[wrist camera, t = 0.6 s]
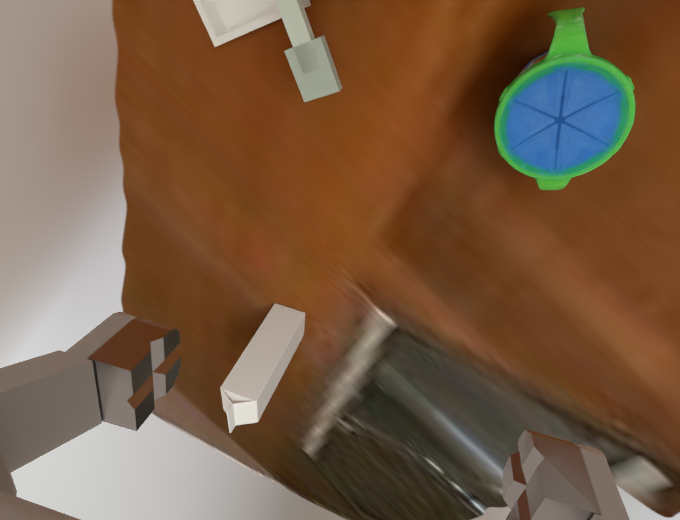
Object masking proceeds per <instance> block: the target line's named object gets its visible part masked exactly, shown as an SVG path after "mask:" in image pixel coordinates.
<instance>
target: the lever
mask: <svg viewBox="0 0 680 520" xmlns="http://www.w3.org/2000/svg"><path fill="white" fill-rule="evenodd" d="M275 2H276V4H277V7H278V9H279V12H280V15H281V17H282V20H283V23H284V25H285V28H286V30H287V33H288V36H289V38H290V41H291V44H292V46H293V47H292V48H289V49H287V50H286V51H284V52H285V54H286V57H287V59H288V62H289V64H290V67H291V69H292V72H293V75H294V77H295V80H296V82H297V85H298V87H299V90H300V92H301V95H302V97H303V100H304V102H307V101H310V100H313V99H317V98H320V97H323V96H326V95H329V94H332V93H335V92H338V91H340V90H341V89H342V85H341V83H340V80H339V77H338V74H337V71H336V68H335V65H334V62H333V59H332V56H331V53H330V50H329V47H328V45H327V42H326V39H325V36H324V35H322V36H320V37H317V38H315V37H314V34H313V31H312V29H311V26H310V23H309V20H308V17H307V14H306V12H305V9H304V6H303V3H302V0H275Z"/></svg>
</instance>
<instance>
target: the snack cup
mask: <svg viewBox="0 0 680 520" xmlns="http://www.w3.org/2000/svg"><path fill="white" fill-rule="evenodd" d="M584 11H585V8H583V7H582V8H573V9H566V10H558V11H553V12H550V13H548V16H549V17H552V19H553V20H554V21H555V23H556V27H555V32H554V36H553V40H552V43H551V46H550V49H549V51H548V52H546V53H544V54H542V55H540V56H538V57H536V58H534V59H533V60H532V61H531V62H529V63H528V64H527V65H526V66H525V67H524V68H523V70H522V71H521V72H520V73H519V75H518V76H517V77H516V78H515V79H514V80H513V81H512V83H511V84H510V85H509V86H507V87H506V88H505V89H504V91H503V92H502V94H501V96H500V98H499V104H498V107H497V110H496V114H495V119H494V134H495V140H496V143H497V146H498V148H497V149H498V152H499V154H500V155H501V157H502V158H504V159H505V160H506V161H507V162H508V163H509V164H510V165H511V166H512V167H513V168H515V169H516V170H518V171H519V172H521V173H523V174H525V175H528V176H530V177H534V178H535V180H536V182H537V184H538V186H539V189H540V190H559V189H563V188H564V187H565V186H566V185H567V184H568V182H569V180H570V179H571V178H572V177H575V176H579V175H582V174H584V173H587V172H589V171H591V170H593V169H595V168H597V167H598V166H600V165H601V164H603V163H604V162H606V161H607V160H608V159H609V158H610V157H611V156H612V155H613V154H615V153H616V152H617V151H618V150H619V149H620V148H621V146H622V144H623V143H624V141H625V139H626V138H627V136H628V134H629V132H630V130H631V127H632V125H633V122H634V117H635V98H634V93H633V90H634V85H633V83H632V81H631V78H630V77H629V76H627V75H624V74H623V73H622V71H621V70H620V69H618V68H617V67H616V66H615V65H613V64H612V63H611V62H609V61H608V60H606V59H604V58H602V57H598V56H595V55H593V54H591V52H590V50H589V46H588V40H587V36H586V31H585V25H584V19H583V12H584Z"/></svg>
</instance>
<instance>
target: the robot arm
mask: <svg viewBox="0 0 680 520" xmlns="http://www.w3.org/2000/svg"><path fill="white" fill-rule="evenodd" d="M179 343H180V335H179V331H178V330H176V329H174V328H171V327H168V326H165V325H162V324H159V323H155V322H152V321H149V320H146V319H143V318H140V317H135V316H132V315H129V314H126V313H123V312H118V313H114V314H112V315H111V316H110V317H108V318H107V319H106V320H105V321H103V322H102V323H101V324H100V325H98V326H97V327H96V328H95V329H93V330H92V331H91V332H90V333H88V334H87V335H86V336H85V337H83V338H82V339H81V340H80V341H78V342H77V343H76V344H75V345H73V346H72V347H71V348H70V349H68V350H67V351H66V352H63V351H56V352H52V353H50V354H46V355H43V356H39V357H36V358H33V359H29V360H26V361H23V362H19V363H17V364H13V365H10V366H6V367H3V368H0V520H80V519H77V518H74V517H71V516H69V515H66V514H63V513H60V512H57V511H55V510H52V509H49V508H46V507H43V506H41V505H38V504H35V503H32V502H29V501H27V500H23V499H21V498H18V497H16V492H17V491H16V488H15V485H14V482H13V479H12V476H11V472H13V471H14V470H16V469H18V468H20V467H22V466H24V465H25V464H27V463H29V462H31V461H33V460H35V459H36V458H38V457H40V456H42V455H44V454H46V453H47V452H49V451H51V450H53V449H55V448H57V447H58V446H60V445H62V444H64V443H66V442H68V441H70V440H71V439H73V438H75V437H77V436H79V435H81V434H83V433H84V432H86V431H88V430H90V429H92V428H94V427H95V426H97V425H99V424H101V423H102V421H104V422H108V423H111V424H115V425H118V426H121V427H125V428H128V429H132V430H135V431H137V430H138V429H139V427H140V426H141V425H142V424H143V423H144V421H145V420H146V419H147V418H148V416H149V415H150V414H151V413H152V411H153V410H154V409H155V405H154V400H155V399H157V398H160V397H162V396H164V395H166V394H167V393H168V391H169V390H170V389H171V388H172V386H173V385H174V382H175V380H176V378H177V376H178V374H179V369H180V356H179V354H178V353H177V351H176V350H175V348H176V347H177V345H178V344H179ZM518 447H519V451H518V452H515V453H513V454H511V455H510V456H509V458H508V460H507V462H506V464H505V468H504V473H503V479H502V490H503V499H504V501H505V502H506V503H507V505H508V506H509V508H510V509H511V512H510V513H509V515H508V517H507V518H506V520H629V517H628V515H627V512H626V509H625V507H624V504H623V502H622V499H621V497H620V494H619V491H618V489H617V486H616V484H615V481H614V479H613V476H612V473H611V471H610V468H609V466H608V463H607V460H606V458H605V456H604V454H603V453H602V452H601V451H600V450H598V449H594V448H591V447H587V446H583V445H580V444H576V443H574V444H573V443H572V442H568V441H565V440H561V439H557V438H554V437H550V436H547V435H543V434H539V433H536V432H532V431H529V430H526V431H524V432H523V433H522V434H521V436H520V438H519V439H518Z"/></svg>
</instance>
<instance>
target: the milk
mask: <svg viewBox="0 0 680 520" xmlns="http://www.w3.org/2000/svg"><path fill="white" fill-rule="evenodd" d="M304 327H305V312H302V311H298V310H295V309H292V308H289V307H286V306H283V305H279V304H276V303H275V304H274V305H273V307H272V308H271V310H270V311H269V313H268V315H267V316H266V318H265V319H264V321H263V322H262V324H261V325H260V327H259V328H258V330H257V332H256V333H255V335H254V336H253V338H252V339H251V341H250V342H249V344H248V345H247V347H246V349H245V350H244V352H243V353H242V355H241V356H240V358H239V359H238V361H237V363H236V364H235V366H234V367H233V369H232V370H231V372H230V373H229V375H228V376H227V378H226V380H225V381H224V383H223V384H222V386H221V387H220V389H221V395H222V402H223V409H224V411H225V412H226V414H227V418H228V425H229V432H230V433H231V432H232V430H233V429H234V427H235V426H236V425H242V424H249V423H256V422H258V421H259V419H260V417H261V415H262V413H263V412H264V410H265V408H266V406H267V404H268V402H269V400H270V398H271V396H272V394H273V393H274V391H275V389H276V387H277V385H278V383H279V381H280V379H281V377H282V375H283V374H284V372H285V370H286V368H287V366H288V364H289V362H290V360H291V358H292V356H293V355H294V353H295V351H296V349H297V347H298V345H299V343H300V341H301V339H302V337H303V336H304Z"/></svg>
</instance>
